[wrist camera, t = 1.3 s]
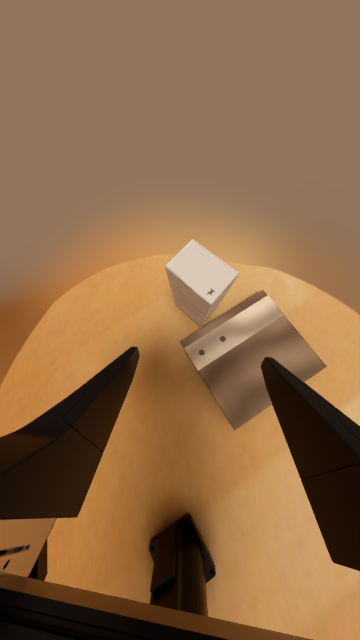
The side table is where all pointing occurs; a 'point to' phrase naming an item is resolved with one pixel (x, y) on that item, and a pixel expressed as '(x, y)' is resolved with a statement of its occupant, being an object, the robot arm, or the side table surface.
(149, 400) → the side table surface
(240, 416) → the bent metal bracket plate
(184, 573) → the robot arm
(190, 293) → the skincare box
